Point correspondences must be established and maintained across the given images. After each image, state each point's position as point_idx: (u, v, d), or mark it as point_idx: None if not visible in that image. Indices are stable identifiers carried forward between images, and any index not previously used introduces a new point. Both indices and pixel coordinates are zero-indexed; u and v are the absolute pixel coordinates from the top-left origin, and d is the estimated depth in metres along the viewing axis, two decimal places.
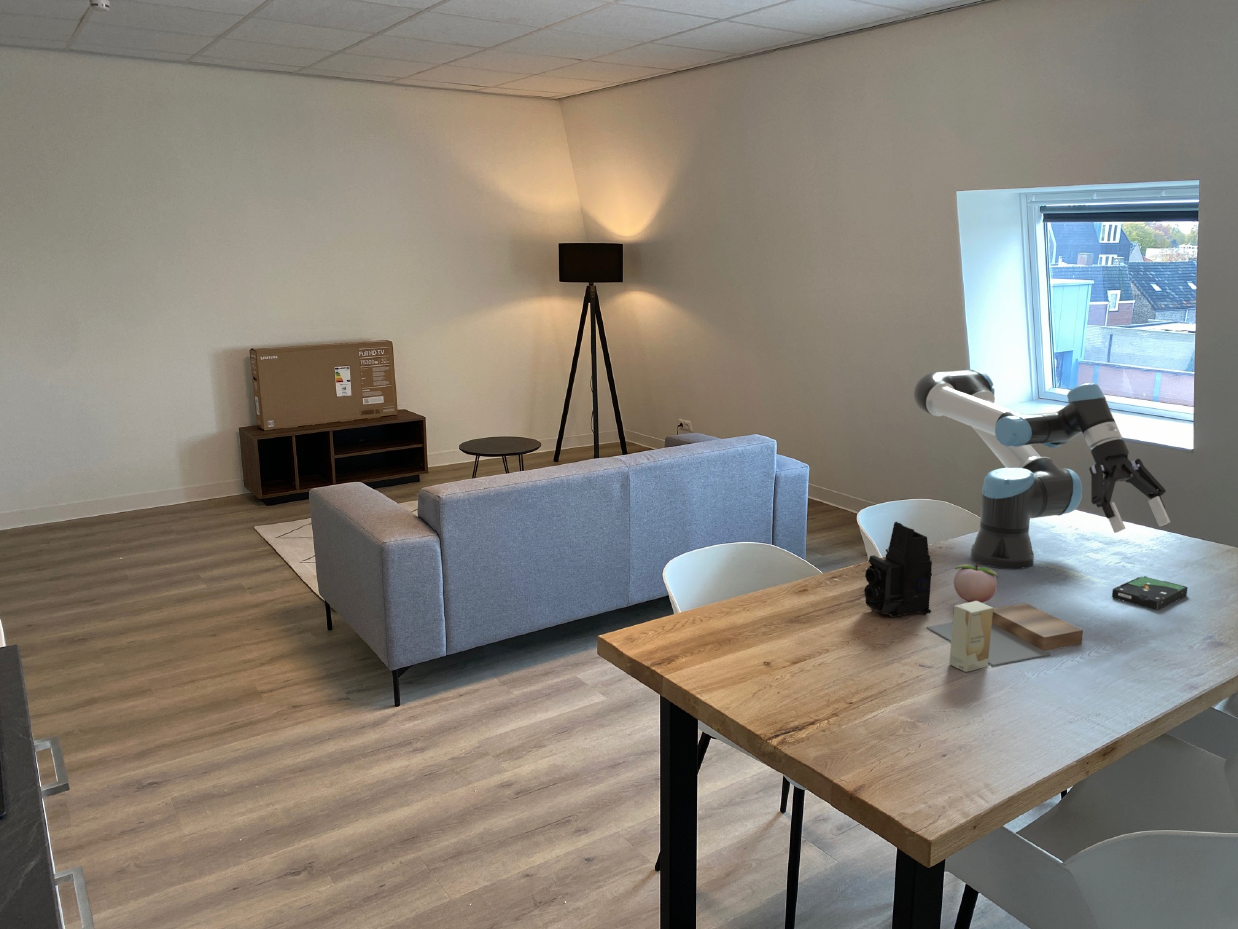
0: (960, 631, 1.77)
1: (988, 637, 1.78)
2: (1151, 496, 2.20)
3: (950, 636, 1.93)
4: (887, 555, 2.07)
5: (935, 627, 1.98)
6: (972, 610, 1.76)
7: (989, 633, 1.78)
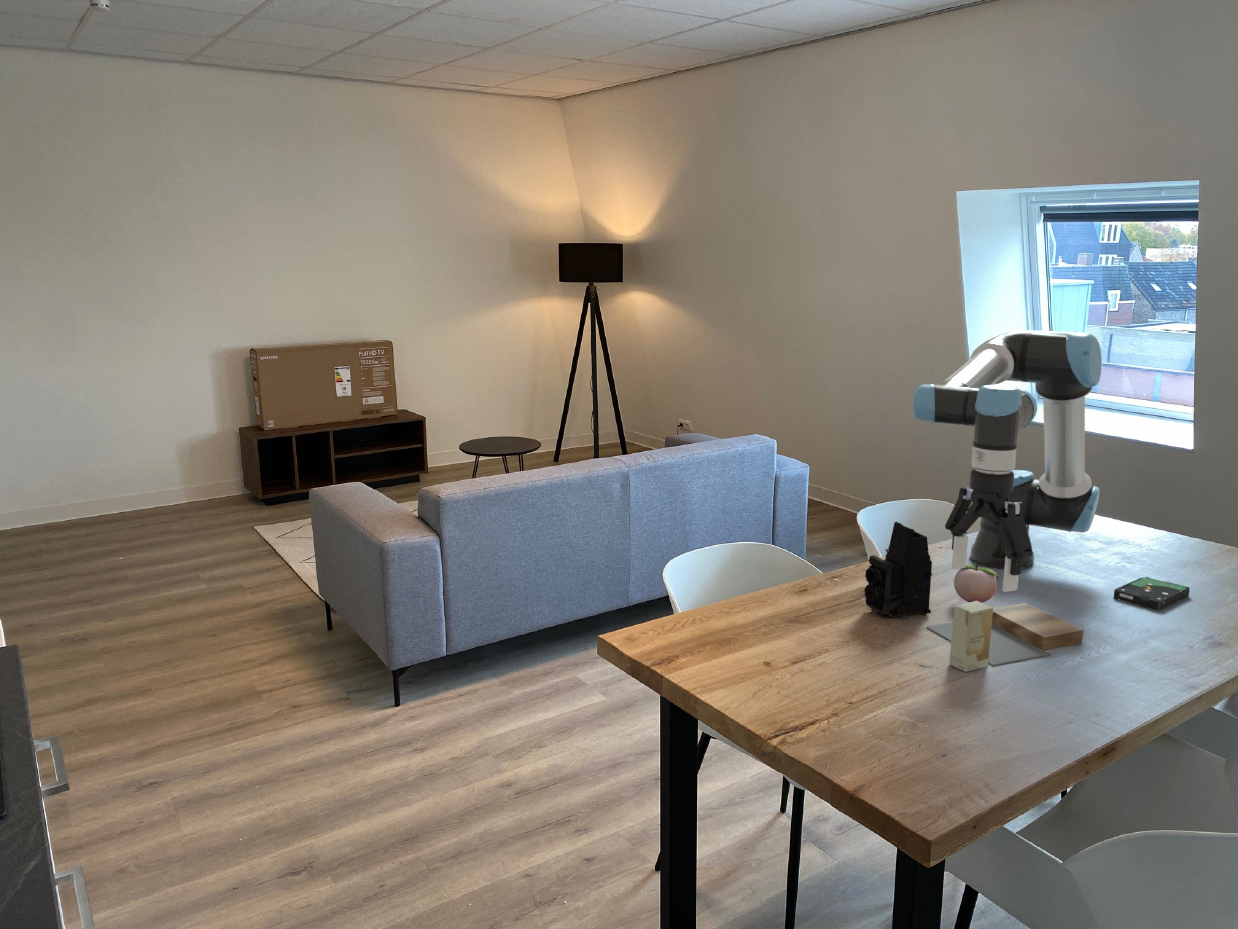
0: (960, 631, 1.77)
1: (988, 637, 1.78)
2: None
3: (950, 636, 1.93)
4: (887, 555, 2.07)
5: (935, 627, 1.98)
6: (972, 610, 1.76)
7: (989, 633, 1.78)
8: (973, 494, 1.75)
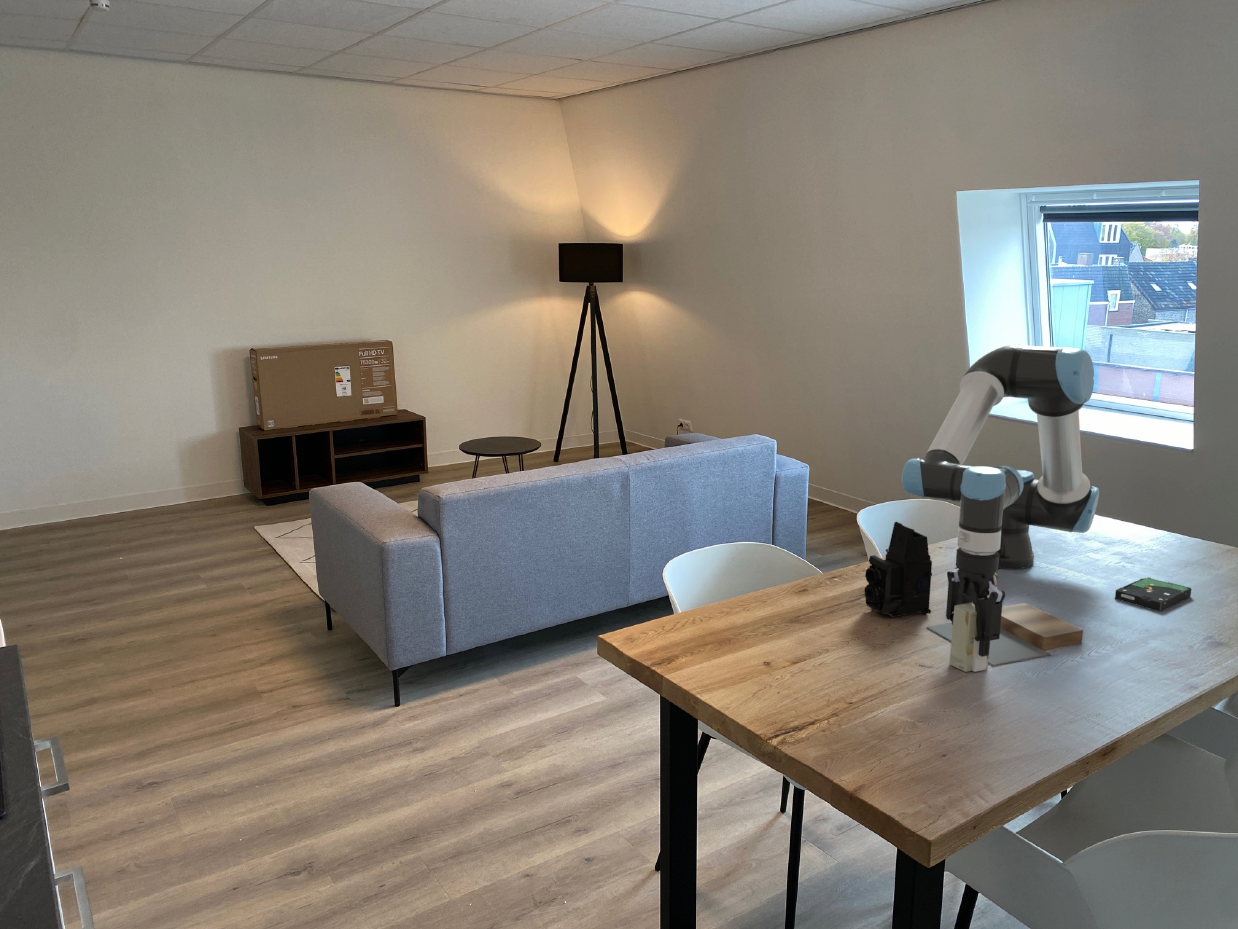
0: (960, 631, 1.77)
1: None
2: None
3: (950, 636, 1.93)
4: (887, 555, 2.07)
5: (935, 627, 1.98)
6: (972, 609, 1.76)
7: None
8: (959, 572, 1.79)
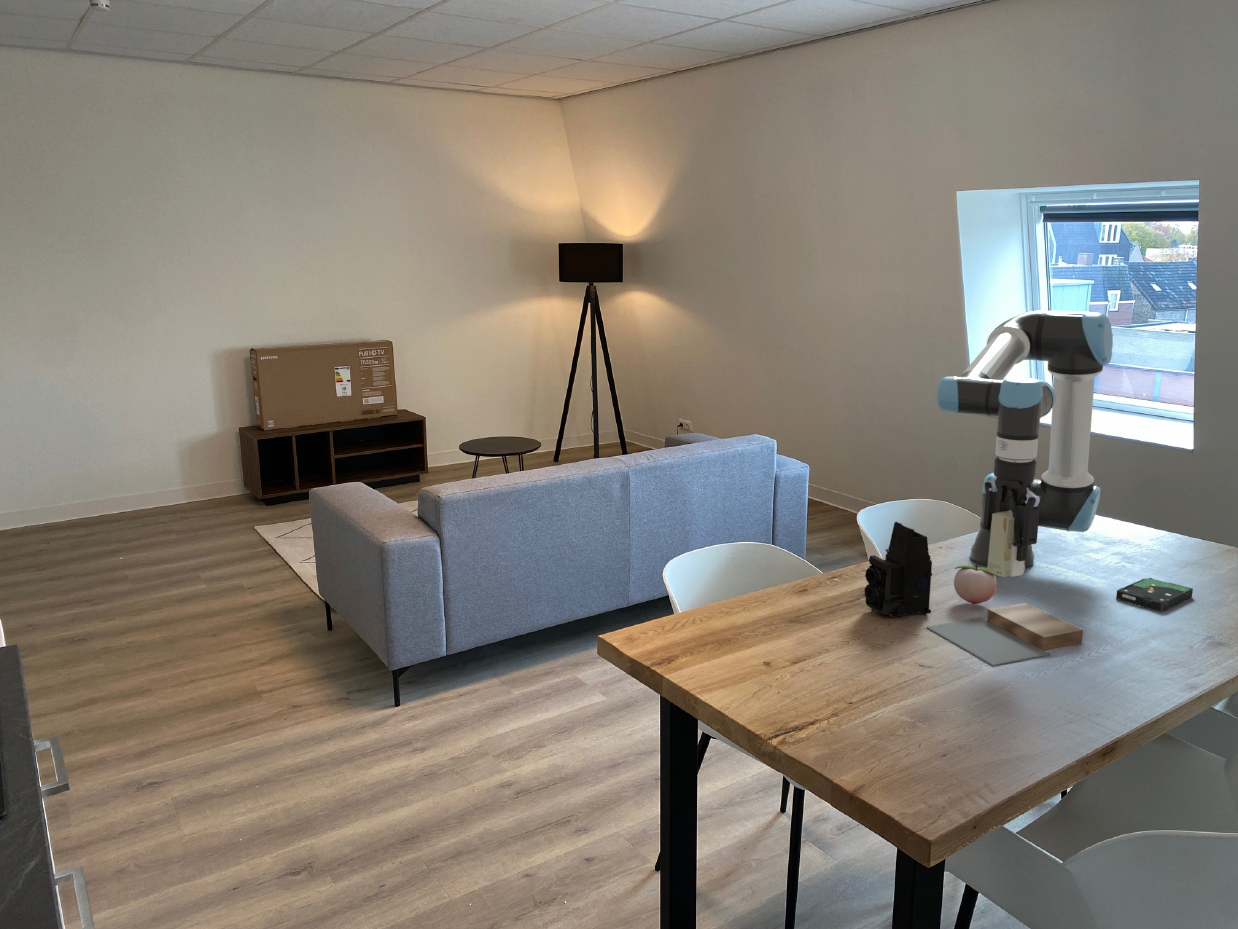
0: (998, 538, 1.84)
1: None
2: None
3: (950, 636, 1.93)
4: (887, 555, 2.07)
5: (935, 627, 1.98)
6: (1009, 516, 1.83)
7: None
8: (996, 481, 1.86)
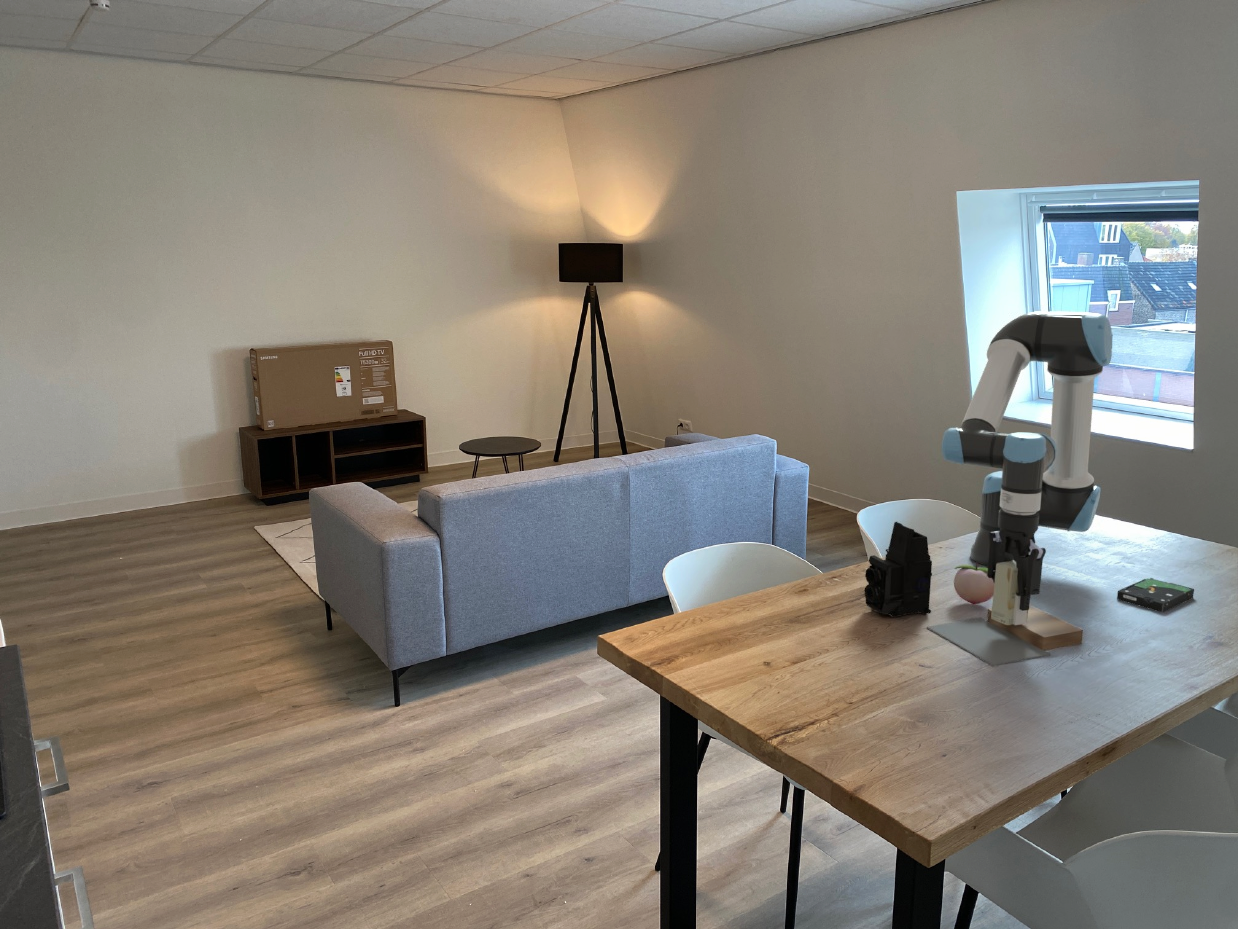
0: (1002, 587, 1.89)
1: None
2: None
3: (950, 636, 1.93)
4: (887, 555, 2.07)
5: (935, 627, 1.98)
6: (1013, 567, 1.88)
7: None
8: (1000, 532, 1.91)
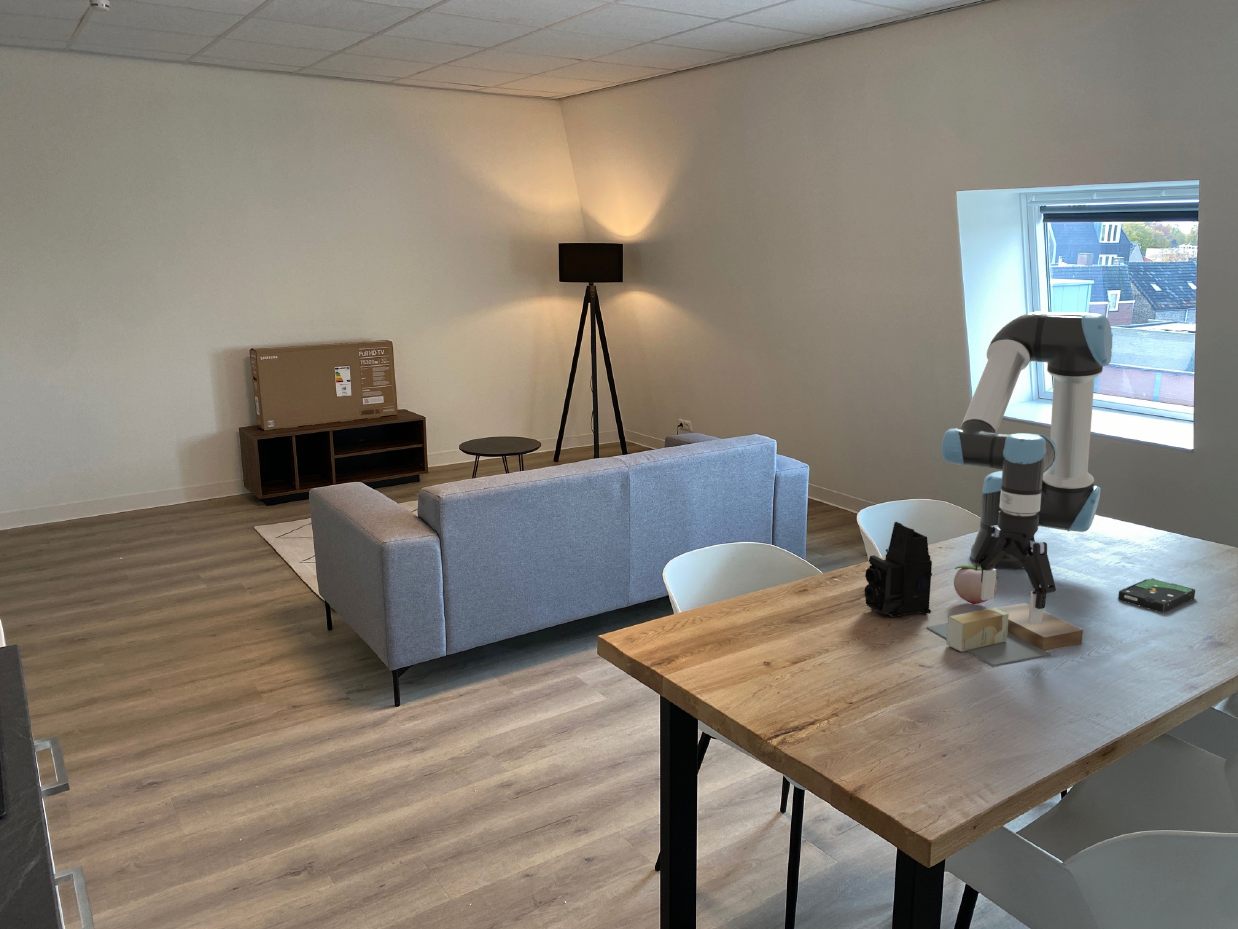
0: None
1: (985, 621, 1.86)
2: None
3: None
4: (887, 555, 2.07)
5: (935, 627, 1.98)
6: (958, 644, 1.86)
7: (982, 622, 1.86)
8: (1001, 533, 1.91)
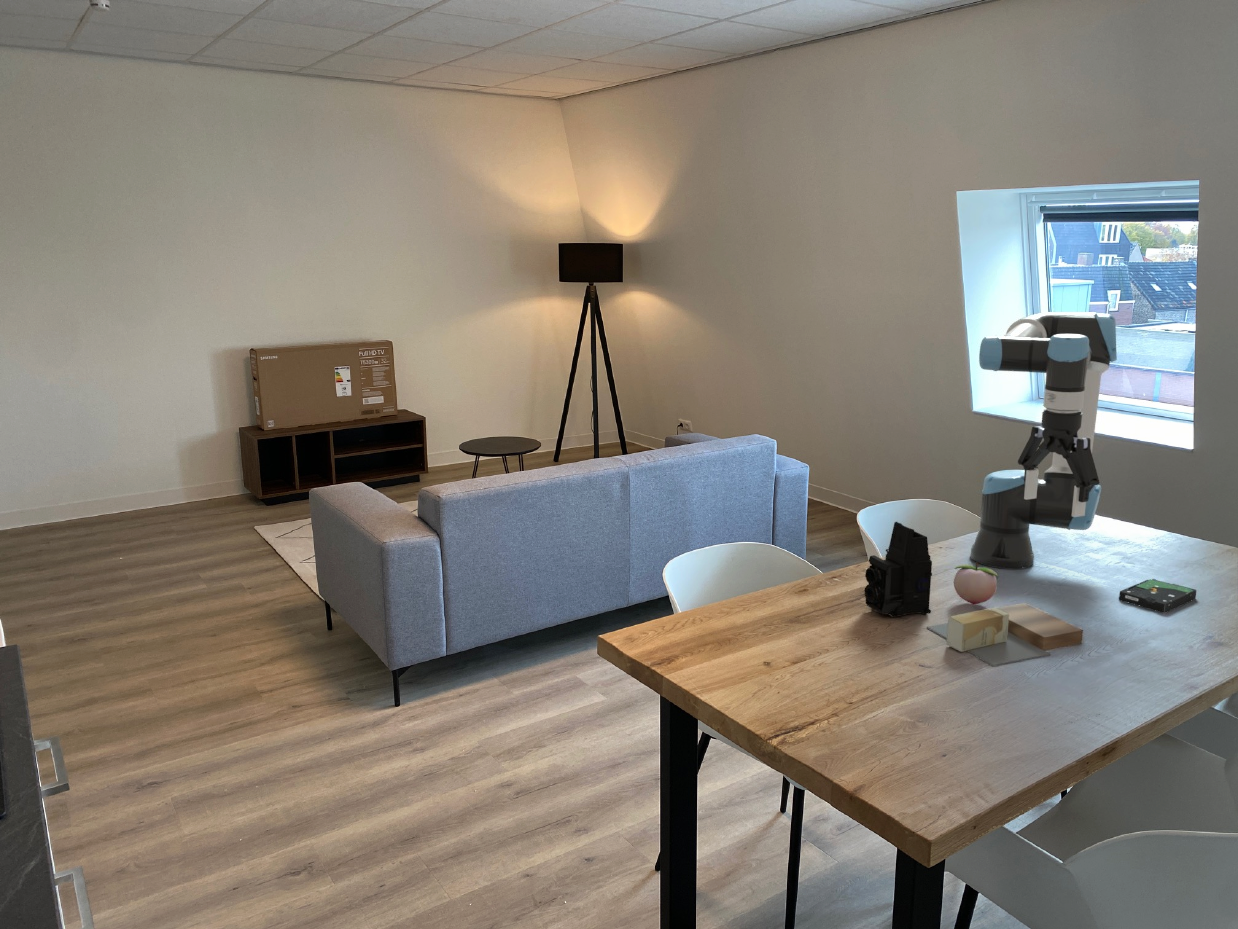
0: None
1: (986, 622, 1.86)
2: None
3: None
4: (887, 555, 2.07)
5: (935, 627, 1.98)
6: (958, 644, 1.86)
7: (983, 622, 1.86)
8: (1044, 432, 1.98)
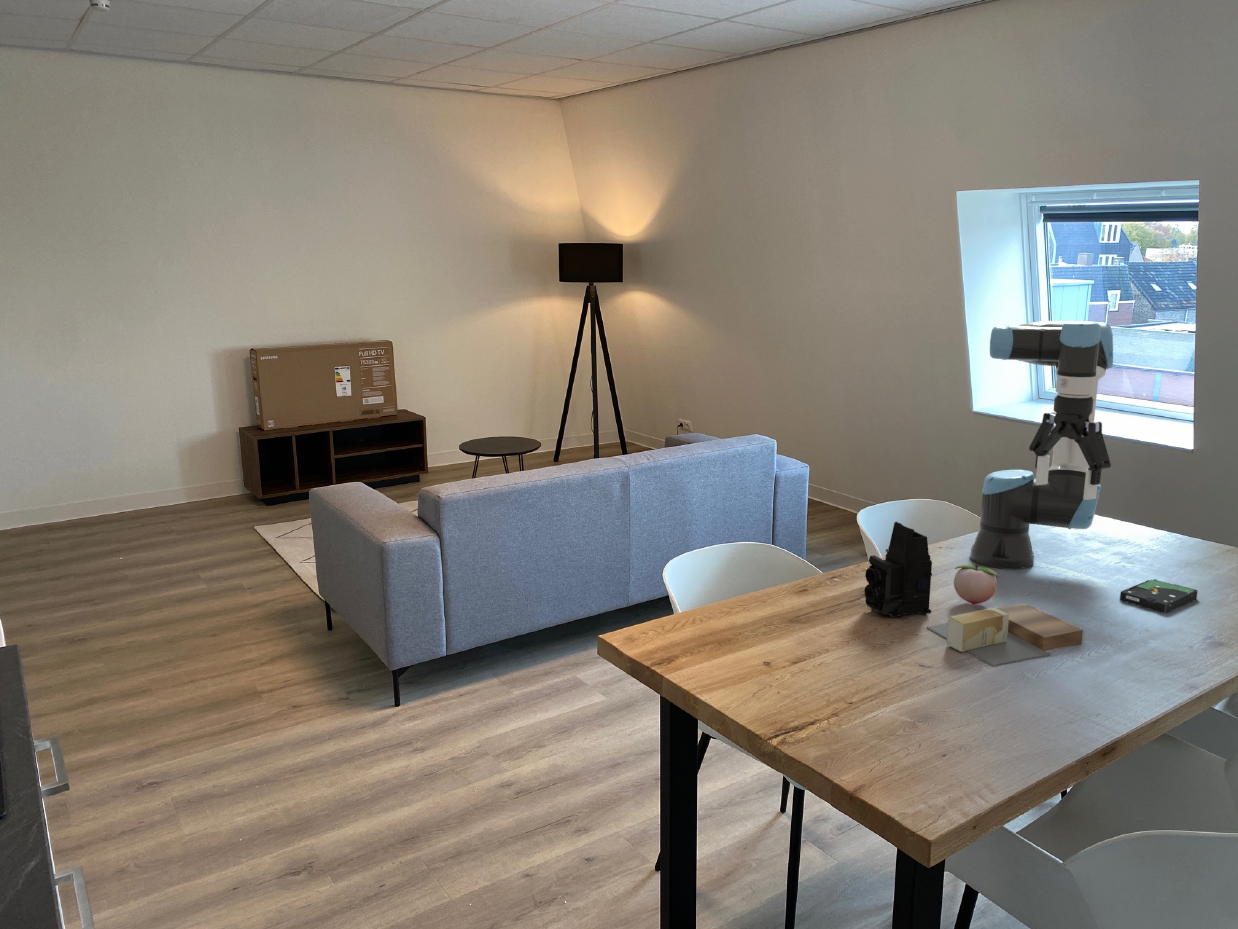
0: None
1: (986, 622, 1.86)
2: None
3: None
4: (887, 555, 2.07)
5: (935, 627, 1.98)
6: (958, 644, 1.86)
7: (983, 622, 1.86)
8: (1056, 417, 2.02)
